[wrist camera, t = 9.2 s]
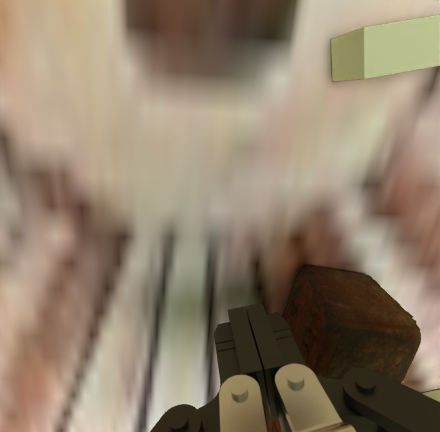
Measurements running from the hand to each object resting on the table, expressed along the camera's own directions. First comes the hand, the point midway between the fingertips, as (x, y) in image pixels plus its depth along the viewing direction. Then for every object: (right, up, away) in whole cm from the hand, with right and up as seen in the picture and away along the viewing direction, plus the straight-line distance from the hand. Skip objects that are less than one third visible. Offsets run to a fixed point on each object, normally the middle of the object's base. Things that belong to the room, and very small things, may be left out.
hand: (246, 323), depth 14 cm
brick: (+3, -3, +4) cm, 6 cm away
